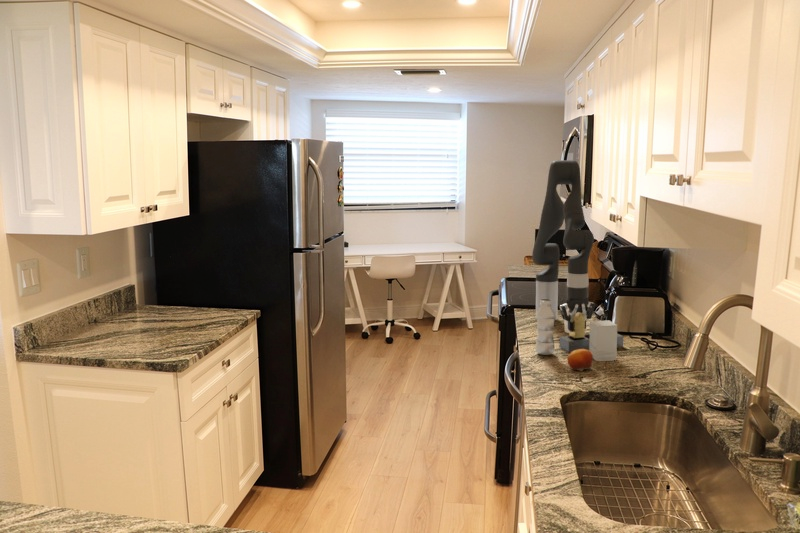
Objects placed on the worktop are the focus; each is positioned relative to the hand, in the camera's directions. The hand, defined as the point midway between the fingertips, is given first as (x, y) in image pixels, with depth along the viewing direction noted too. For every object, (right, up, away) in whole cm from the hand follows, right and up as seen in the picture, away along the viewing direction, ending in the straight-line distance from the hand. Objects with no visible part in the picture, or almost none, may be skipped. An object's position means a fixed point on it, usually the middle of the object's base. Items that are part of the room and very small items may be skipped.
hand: (576, 330), depth 234 cm
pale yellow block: (0, -2, 0) cm, 2 cm away
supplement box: (+6, -9, -11) cm, 15 cm away
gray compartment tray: (+6, -6, +2) cm, 9 cm away
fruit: (-5, -11, -21) cm, 24 cm away
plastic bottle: (-13, -8, -5) cm, 16 cm away
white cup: (+5, -3, +24) cm, 24 cm away
